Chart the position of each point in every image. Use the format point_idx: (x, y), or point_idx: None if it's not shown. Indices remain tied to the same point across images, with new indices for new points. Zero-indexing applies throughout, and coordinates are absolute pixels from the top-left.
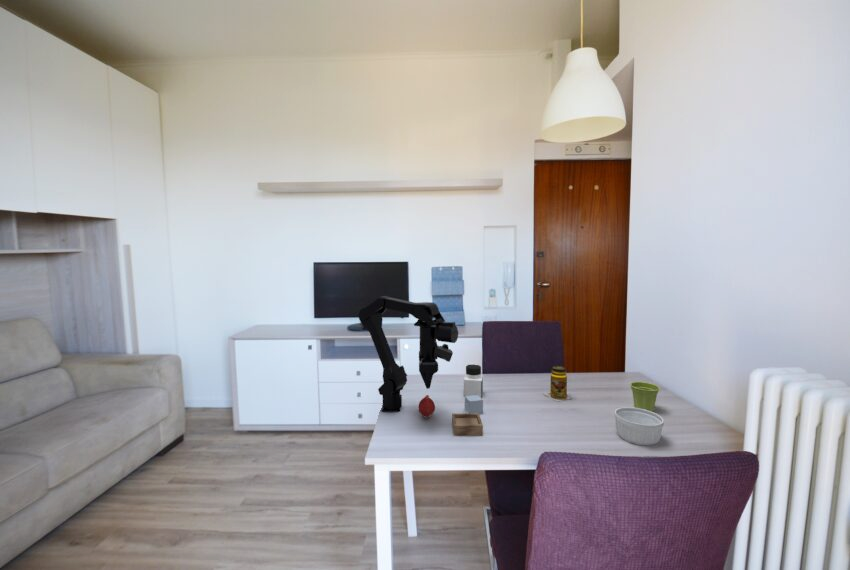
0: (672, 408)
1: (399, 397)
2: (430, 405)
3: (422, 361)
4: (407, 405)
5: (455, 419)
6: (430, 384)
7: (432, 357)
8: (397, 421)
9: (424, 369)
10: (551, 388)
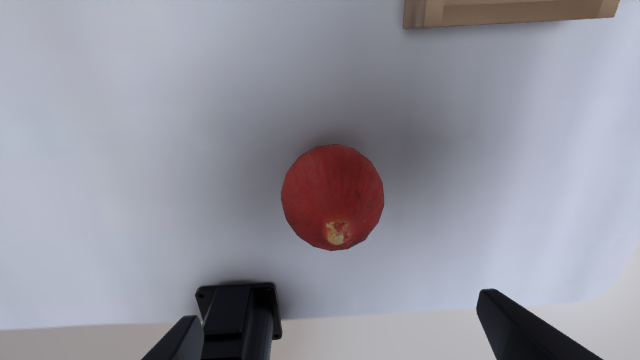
0: None
1: (243, 335)
2: (376, 185)
3: None
4: (195, 261)
5: (457, 1)
6: (546, 323)
7: None
8: (367, 276)
9: None
10: None
